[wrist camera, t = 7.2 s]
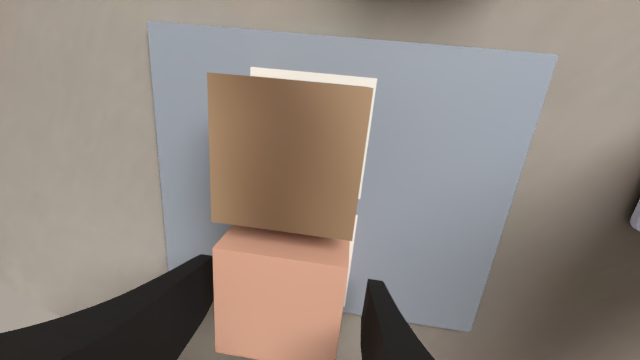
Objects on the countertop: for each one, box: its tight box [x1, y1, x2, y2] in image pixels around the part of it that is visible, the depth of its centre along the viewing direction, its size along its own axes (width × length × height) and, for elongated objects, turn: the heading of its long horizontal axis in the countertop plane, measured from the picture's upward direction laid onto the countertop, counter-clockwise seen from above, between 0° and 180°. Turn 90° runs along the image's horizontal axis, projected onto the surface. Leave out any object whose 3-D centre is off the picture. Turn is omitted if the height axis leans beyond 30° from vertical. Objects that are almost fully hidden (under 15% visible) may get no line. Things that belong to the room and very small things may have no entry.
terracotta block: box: [212, 225, 350, 360], centre depth 12 cm, size 4×4×4 cm
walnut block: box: [207, 72, 373, 241], centre depth 11 cm, size 4×4×4 cm
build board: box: [147, 21, 559, 332], centre depth 14 cm, size 16×13×1 cm
